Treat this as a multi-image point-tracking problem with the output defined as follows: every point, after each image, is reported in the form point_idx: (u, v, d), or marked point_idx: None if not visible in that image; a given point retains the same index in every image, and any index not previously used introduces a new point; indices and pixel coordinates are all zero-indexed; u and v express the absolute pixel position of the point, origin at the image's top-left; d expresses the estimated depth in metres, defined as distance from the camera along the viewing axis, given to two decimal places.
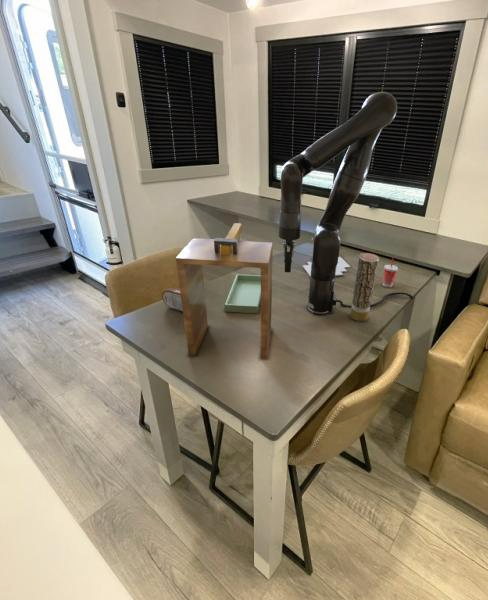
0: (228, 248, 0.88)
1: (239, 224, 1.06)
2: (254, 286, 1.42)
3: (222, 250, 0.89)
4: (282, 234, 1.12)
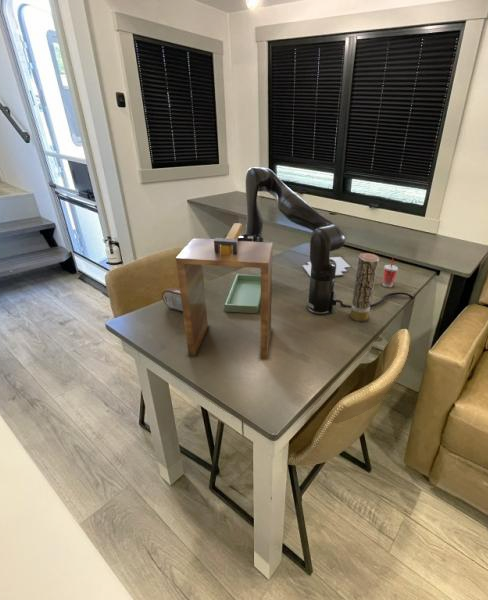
0: (228, 248, 0.88)
1: (239, 224, 1.06)
2: (254, 286, 1.42)
3: (222, 250, 0.89)
4: None
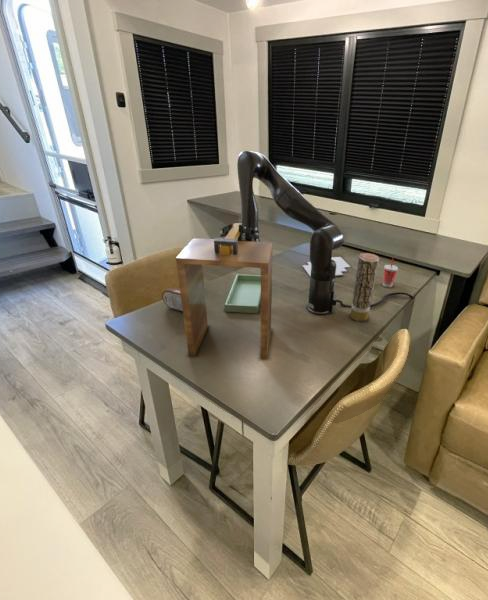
0: (228, 248, 0.88)
1: None
2: (254, 286, 1.42)
3: (222, 250, 0.89)
4: None
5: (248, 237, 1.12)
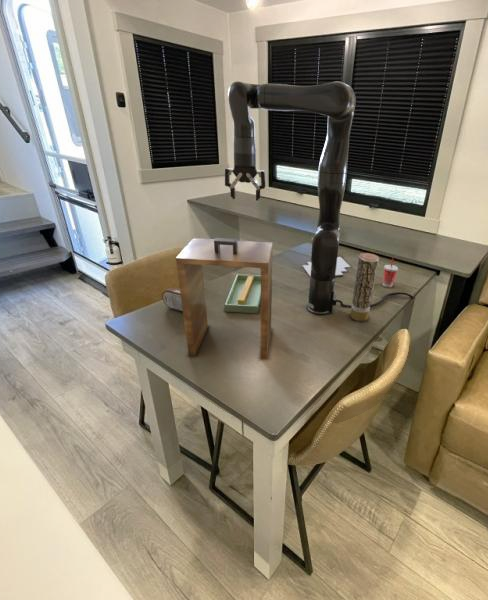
0: (243, 301, 1.27)
1: (251, 277, 1.45)
2: (254, 286, 1.42)
3: (239, 302, 1.27)
4: None
5: None
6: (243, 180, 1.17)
